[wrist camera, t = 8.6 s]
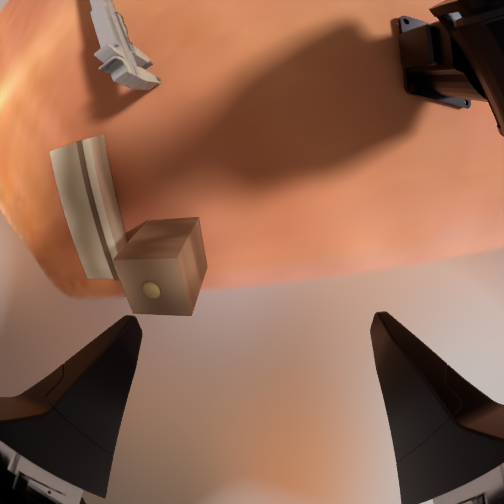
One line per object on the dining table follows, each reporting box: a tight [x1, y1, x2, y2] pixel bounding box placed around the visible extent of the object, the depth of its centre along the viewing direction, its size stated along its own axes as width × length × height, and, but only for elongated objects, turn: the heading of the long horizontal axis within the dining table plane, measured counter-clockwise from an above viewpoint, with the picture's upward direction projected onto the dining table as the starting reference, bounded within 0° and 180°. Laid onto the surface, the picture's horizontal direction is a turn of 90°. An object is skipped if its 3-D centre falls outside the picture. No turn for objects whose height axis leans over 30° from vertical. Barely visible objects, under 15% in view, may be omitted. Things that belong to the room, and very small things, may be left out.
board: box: [50, 134, 128, 280], centre depth 19 cm, size 4×12×2 cm, turn 4°
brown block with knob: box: [113, 217, 207, 316], centre depth 19 cm, size 4×4×6 cm
